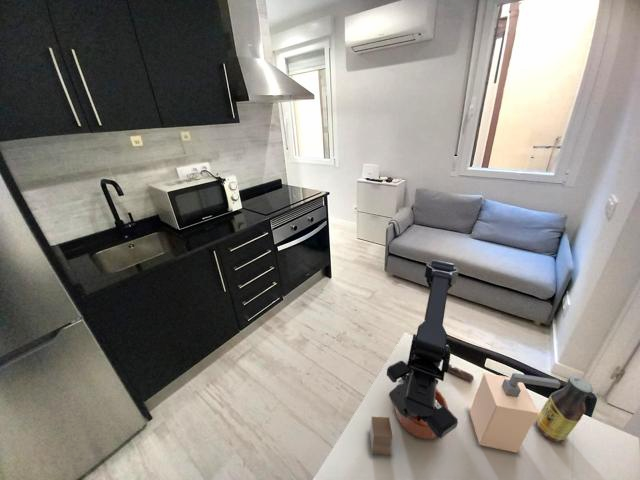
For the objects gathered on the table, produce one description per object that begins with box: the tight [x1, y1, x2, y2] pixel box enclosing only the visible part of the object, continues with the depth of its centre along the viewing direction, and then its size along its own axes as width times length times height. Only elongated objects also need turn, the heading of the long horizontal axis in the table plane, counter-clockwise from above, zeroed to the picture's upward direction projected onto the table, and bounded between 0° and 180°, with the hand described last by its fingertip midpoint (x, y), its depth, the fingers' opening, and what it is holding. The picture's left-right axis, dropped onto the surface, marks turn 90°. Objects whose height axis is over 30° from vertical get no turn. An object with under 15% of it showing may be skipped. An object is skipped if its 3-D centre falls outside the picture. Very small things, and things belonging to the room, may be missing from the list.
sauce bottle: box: [535, 375, 594, 443], centre depth 64 cm, size 7×6×20 cm
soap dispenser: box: [469, 372, 562, 454], centre depth 64 cm, size 13×9×22 cm
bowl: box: [394, 388, 449, 440], centre depth 72 cm, size 13×13×5 cm
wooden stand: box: [369, 416, 393, 456], centre depth 65 cm, size 4×4×8 cm
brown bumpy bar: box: [448, 363, 474, 382], centre depth 83 cm, size 8×2×2 cm, turn 54°
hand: (414, 414), depth 70 cm, fingers closed on tomato, 3 cm apart
